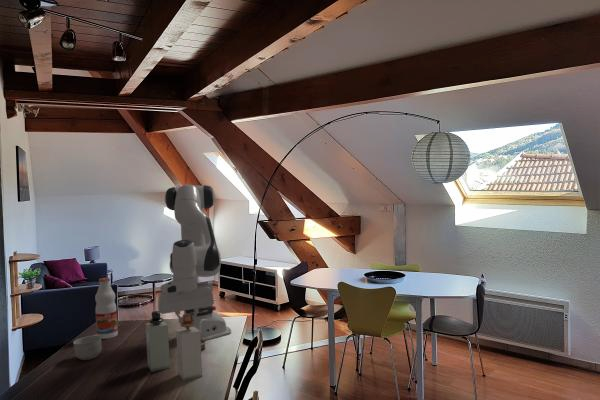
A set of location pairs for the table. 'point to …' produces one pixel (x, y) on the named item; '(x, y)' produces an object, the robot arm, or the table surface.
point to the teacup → (87, 347)
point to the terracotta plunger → (187, 321)
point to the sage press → (157, 346)
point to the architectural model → (202, 341)
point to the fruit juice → (106, 310)
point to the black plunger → (156, 318)
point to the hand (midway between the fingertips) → (187, 321)
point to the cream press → (189, 353)
